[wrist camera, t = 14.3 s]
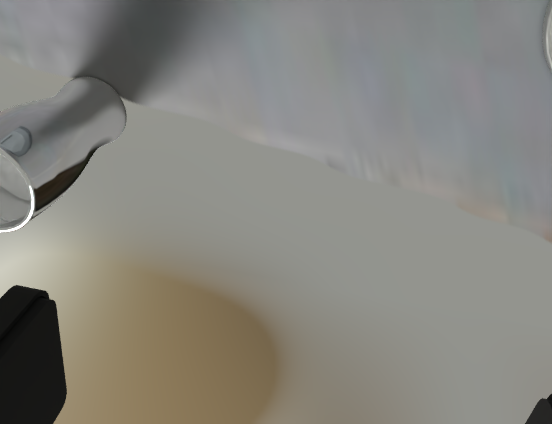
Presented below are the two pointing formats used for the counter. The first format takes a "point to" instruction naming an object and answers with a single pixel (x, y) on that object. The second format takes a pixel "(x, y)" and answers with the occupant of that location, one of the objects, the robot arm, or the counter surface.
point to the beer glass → (53, 146)
